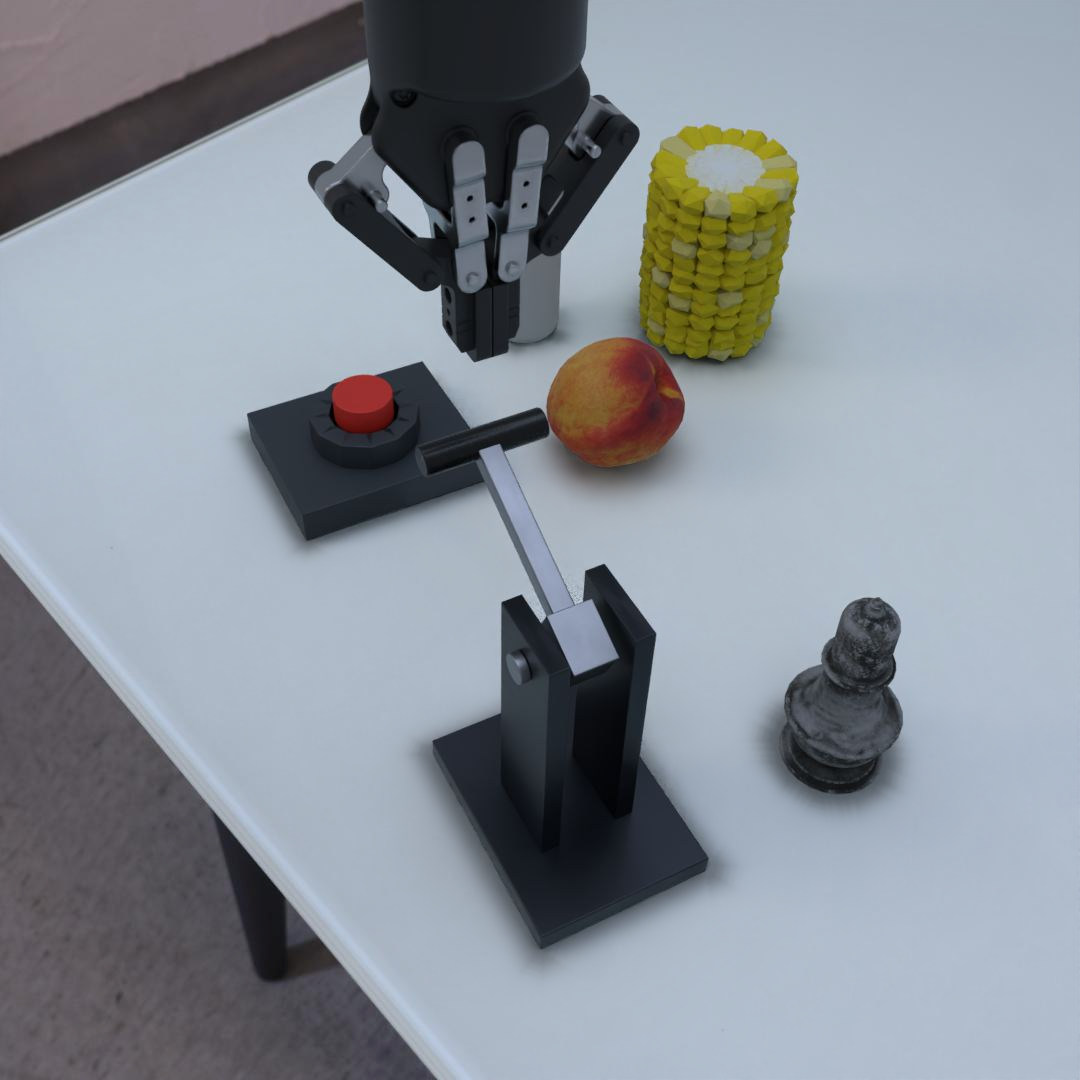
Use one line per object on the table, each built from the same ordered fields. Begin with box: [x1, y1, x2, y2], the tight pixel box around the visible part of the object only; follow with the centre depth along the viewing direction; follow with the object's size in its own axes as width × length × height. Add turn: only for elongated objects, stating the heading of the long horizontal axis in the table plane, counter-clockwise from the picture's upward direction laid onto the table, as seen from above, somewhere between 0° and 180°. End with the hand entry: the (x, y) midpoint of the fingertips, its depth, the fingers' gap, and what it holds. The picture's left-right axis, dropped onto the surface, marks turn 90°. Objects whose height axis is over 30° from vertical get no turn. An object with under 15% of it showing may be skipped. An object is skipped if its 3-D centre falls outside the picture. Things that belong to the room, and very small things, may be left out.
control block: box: [246, 360, 485, 541], centre depth 81 cm, size 12×10×4 cm
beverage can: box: [509, 192, 563, 344], centre depth 88 cm, size 5×5×12 cm
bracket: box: [431, 563, 710, 950], centre depth 60 cm, size 12×9×15 cm
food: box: [638, 123, 800, 362], centre depth 87 cm, size 15×12×10 cm
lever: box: [415, 406, 620, 687], centre depth 57 cm, size 12×6×2 cm, turn 27°
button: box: [332, 374, 394, 434], centre depth 79 cm, size 4×4×2 cm
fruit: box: [545, 336, 686, 468], centre depth 80 cm, size 8×8×8 cm
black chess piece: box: [779, 596, 904, 795], centre depth 64 cm, size 6×6×12 cm
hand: (480, 347), depth 54 cm, fingers closed
